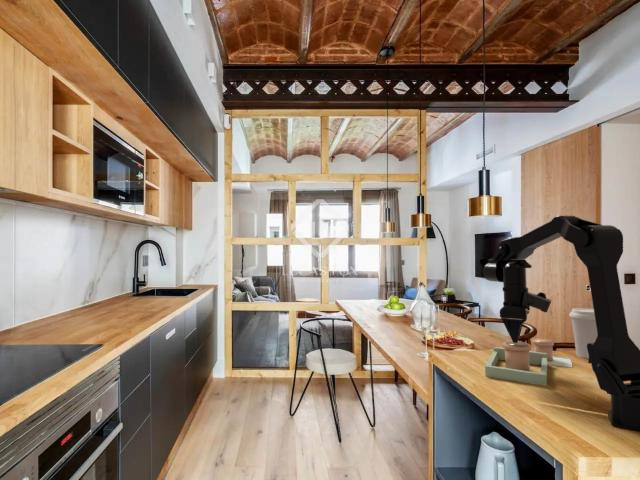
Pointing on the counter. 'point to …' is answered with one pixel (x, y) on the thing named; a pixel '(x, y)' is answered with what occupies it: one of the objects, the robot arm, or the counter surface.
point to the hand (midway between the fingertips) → (516, 339)
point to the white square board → (560, 362)
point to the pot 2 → (544, 347)
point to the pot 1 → (517, 355)
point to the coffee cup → (583, 329)
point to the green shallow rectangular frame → (515, 374)
